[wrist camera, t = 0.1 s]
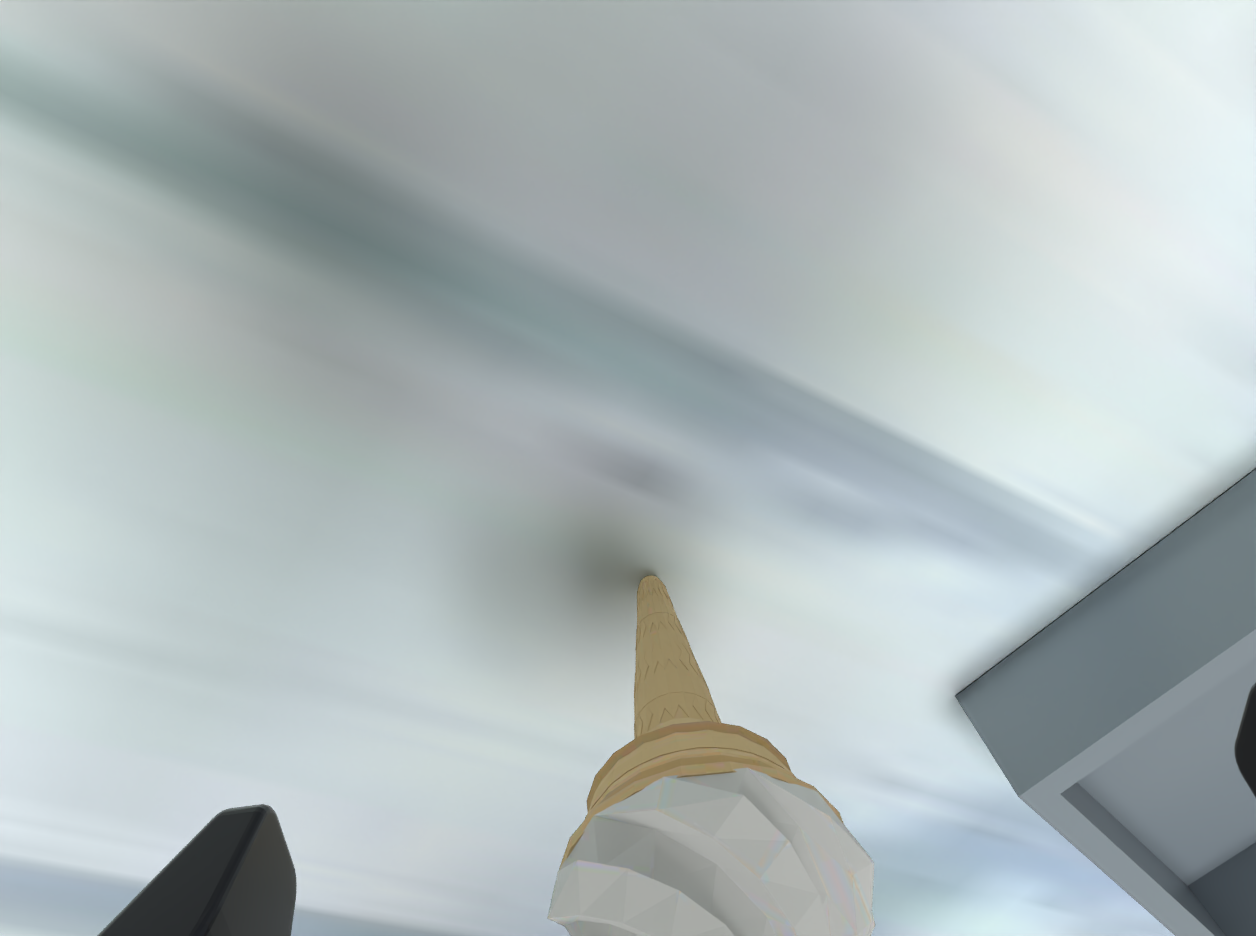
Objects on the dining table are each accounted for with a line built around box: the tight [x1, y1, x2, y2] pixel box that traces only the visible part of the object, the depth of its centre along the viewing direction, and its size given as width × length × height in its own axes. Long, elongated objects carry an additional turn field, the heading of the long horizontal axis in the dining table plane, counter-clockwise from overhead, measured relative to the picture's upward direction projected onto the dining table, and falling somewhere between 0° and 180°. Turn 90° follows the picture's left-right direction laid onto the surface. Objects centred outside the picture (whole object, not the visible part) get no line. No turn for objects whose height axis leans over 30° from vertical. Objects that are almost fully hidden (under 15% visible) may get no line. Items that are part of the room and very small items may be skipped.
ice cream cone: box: [548, 576, 875, 936], centre depth 18 cm, size 6×6×15 cm
